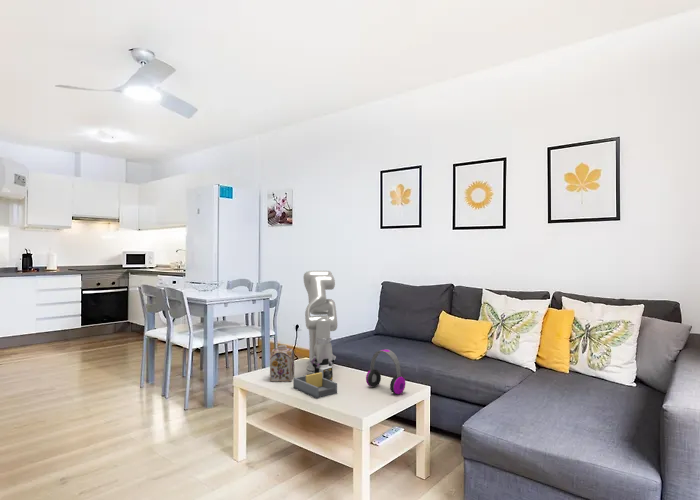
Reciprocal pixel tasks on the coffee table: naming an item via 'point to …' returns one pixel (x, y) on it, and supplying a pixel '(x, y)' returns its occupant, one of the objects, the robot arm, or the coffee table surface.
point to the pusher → (314, 379)
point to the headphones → (375, 377)
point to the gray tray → (316, 392)
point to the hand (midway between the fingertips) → (323, 373)
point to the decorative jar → (282, 364)
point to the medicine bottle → (325, 369)
